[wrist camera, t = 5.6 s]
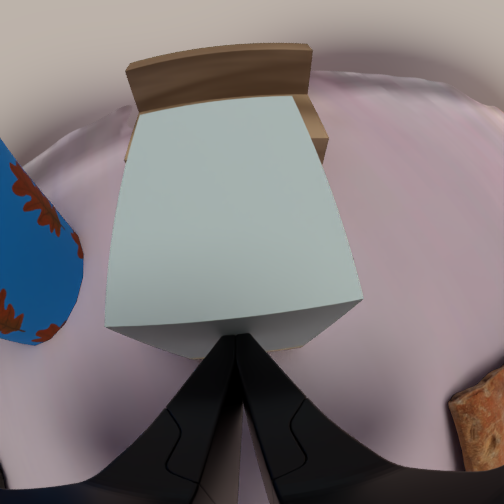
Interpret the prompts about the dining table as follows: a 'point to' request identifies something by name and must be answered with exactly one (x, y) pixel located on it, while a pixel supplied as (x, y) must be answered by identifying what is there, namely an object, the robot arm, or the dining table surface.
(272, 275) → the cover
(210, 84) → the wooden toy bench
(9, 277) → the thermos
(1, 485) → the cola bottle
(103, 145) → the dining table surface
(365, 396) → the dining table surface
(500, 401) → the brown rounded piece
